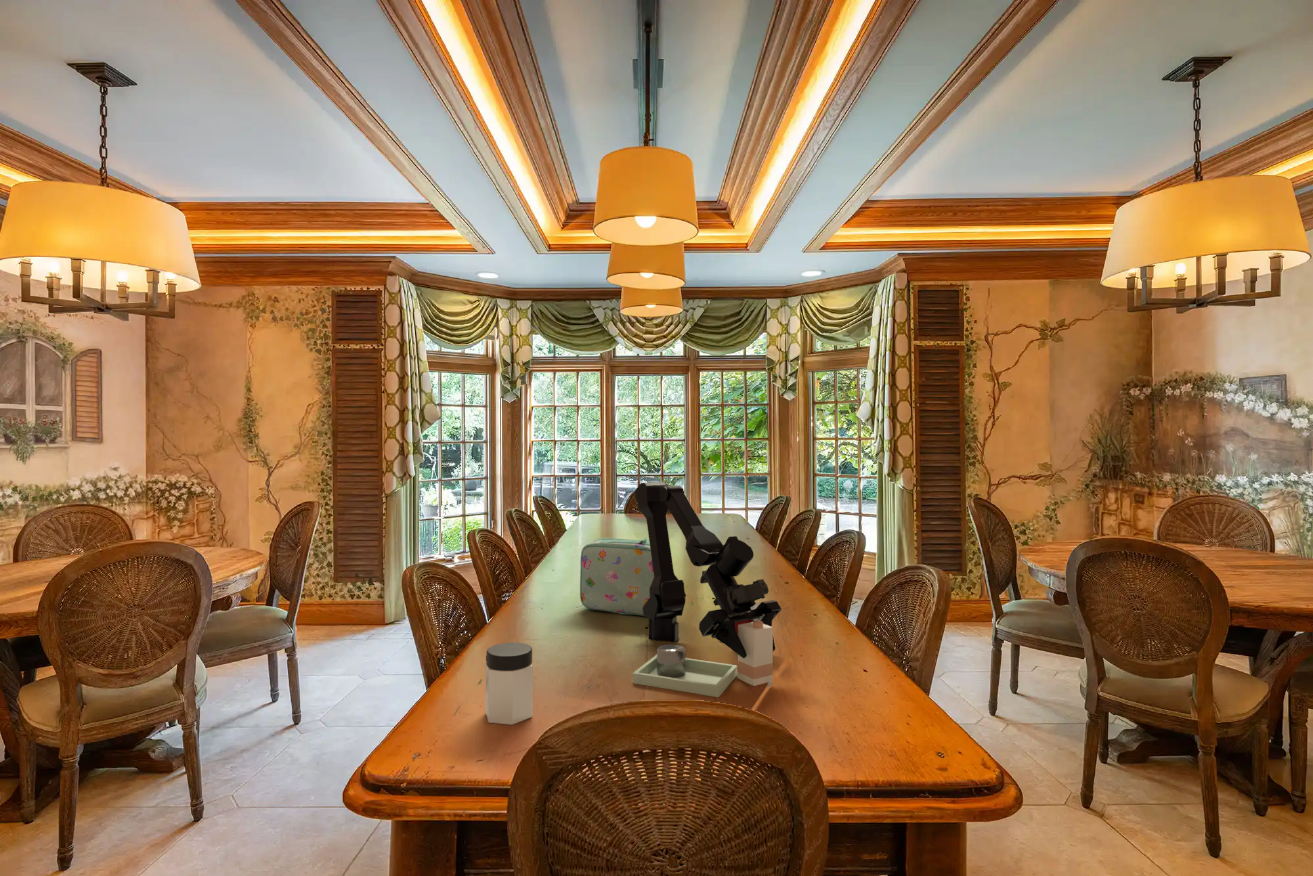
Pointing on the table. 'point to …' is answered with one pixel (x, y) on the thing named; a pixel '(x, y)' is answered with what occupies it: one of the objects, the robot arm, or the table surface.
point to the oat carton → (756, 653)
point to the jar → (509, 683)
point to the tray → (689, 677)
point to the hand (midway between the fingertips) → (759, 653)
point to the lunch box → (616, 575)
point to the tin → (671, 661)
